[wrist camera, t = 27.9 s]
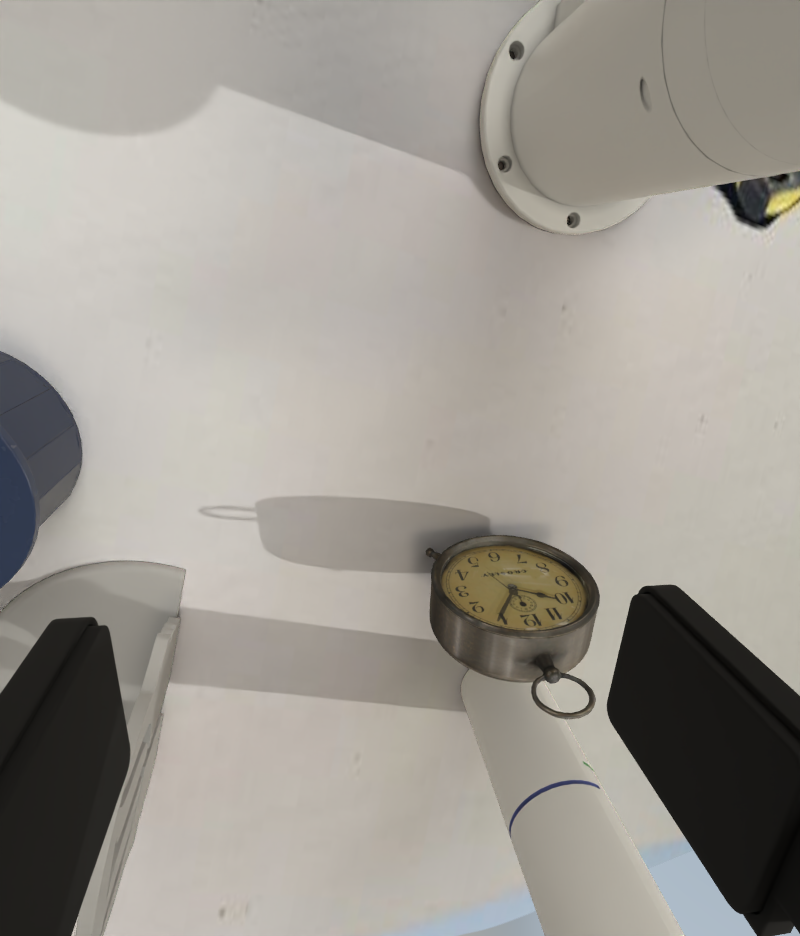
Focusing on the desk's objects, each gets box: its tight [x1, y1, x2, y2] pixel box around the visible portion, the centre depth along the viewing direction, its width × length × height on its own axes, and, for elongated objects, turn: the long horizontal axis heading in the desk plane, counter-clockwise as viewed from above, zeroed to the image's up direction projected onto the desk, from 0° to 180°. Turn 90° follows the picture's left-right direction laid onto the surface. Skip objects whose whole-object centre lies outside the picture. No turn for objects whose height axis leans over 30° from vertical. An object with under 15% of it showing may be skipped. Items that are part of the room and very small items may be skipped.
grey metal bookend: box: [0, 561, 186, 936], centre depth 34 cm, size 22×13×17 cm, turn 164°
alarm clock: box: [426, 535, 600, 719], centre depth 36 cm, size 11×5×16 cm, turn 89°
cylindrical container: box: [461, 669, 685, 936], centre depth 37 cm, size 7×7×25 cm
